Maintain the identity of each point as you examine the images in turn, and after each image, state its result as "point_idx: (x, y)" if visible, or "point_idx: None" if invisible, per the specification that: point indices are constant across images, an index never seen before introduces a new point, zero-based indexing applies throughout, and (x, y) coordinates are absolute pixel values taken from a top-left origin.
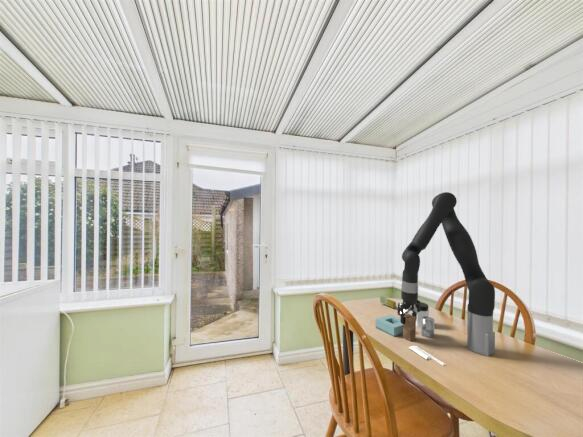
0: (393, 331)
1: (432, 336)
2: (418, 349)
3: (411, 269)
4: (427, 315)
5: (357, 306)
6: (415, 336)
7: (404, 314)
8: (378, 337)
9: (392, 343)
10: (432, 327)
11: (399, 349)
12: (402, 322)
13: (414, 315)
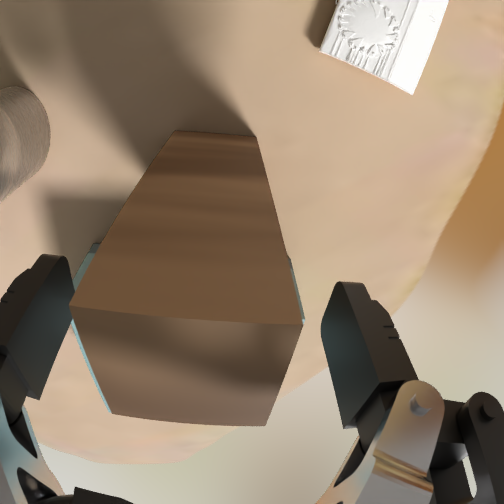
0: (297, 296)
1: (4, 90)
2: (390, 14)
3: None
4: None
5: (145, 460)
6: (167, 141)
7: (435, 433)
8: None
9: (391, 216)
10: None
11: (437, 143)
12: (384, 316)
13: (30, 340)
